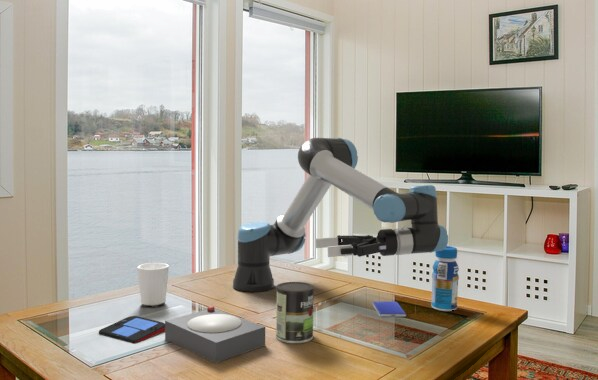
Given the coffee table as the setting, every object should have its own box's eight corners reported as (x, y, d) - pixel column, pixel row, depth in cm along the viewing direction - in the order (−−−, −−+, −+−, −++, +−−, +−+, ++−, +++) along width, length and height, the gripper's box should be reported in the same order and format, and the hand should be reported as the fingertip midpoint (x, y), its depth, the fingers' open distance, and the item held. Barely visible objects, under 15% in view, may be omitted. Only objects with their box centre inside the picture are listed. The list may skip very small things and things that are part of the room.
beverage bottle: (425, 305, 174) (427, 245, 172) (447, 303, 177) (450, 244, 175) (440, 312, 166) (442, 250, 164) (462, 310, 169) (465, 249, 167)
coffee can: (320, 335, 145) (321, 285, 144) (300, 346, 136) (301, 293, 135) (289, 327, 150) (289, 279, 149) (268, 338, 141) (268, 287, 140)
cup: (139, 310, 163) (139, 270, 162) (135, 301, 172) (135, 263, 171) (171, 307, 167) (171, 267, 166) (166, 298, 176) (166, 261, 175)
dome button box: (165, 338, 140) (165, 316, 139) (213, 324, 151) (213, 304, 151) (216, 363, 125) (216, 338, 124) (265, 345, 136) (265, 322, 136)
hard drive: (372, 301, 174) (380, 313, 162) (397, 301, 174) (406, 313, 162) (372, 305, 174) (379, 318, 162) (396, 305, 174) (406, 318, 162)
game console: (97, 335, 143) (97, 327, 143) (132, 321, 154) (132, 314, 154) (135, 345, 136) (135, 337, 136) (169, 331, 147) (169, 323, 147)
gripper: (378, 223, 161) (311, 227, 157) (411, 235, 137) (333, 241, 133) (378, 247, 162) (311, 252, 157) (412, 263, 137) (334, 270, 133)
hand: (321, 247), depth 145 cm, fingers open, 13 cm apart
